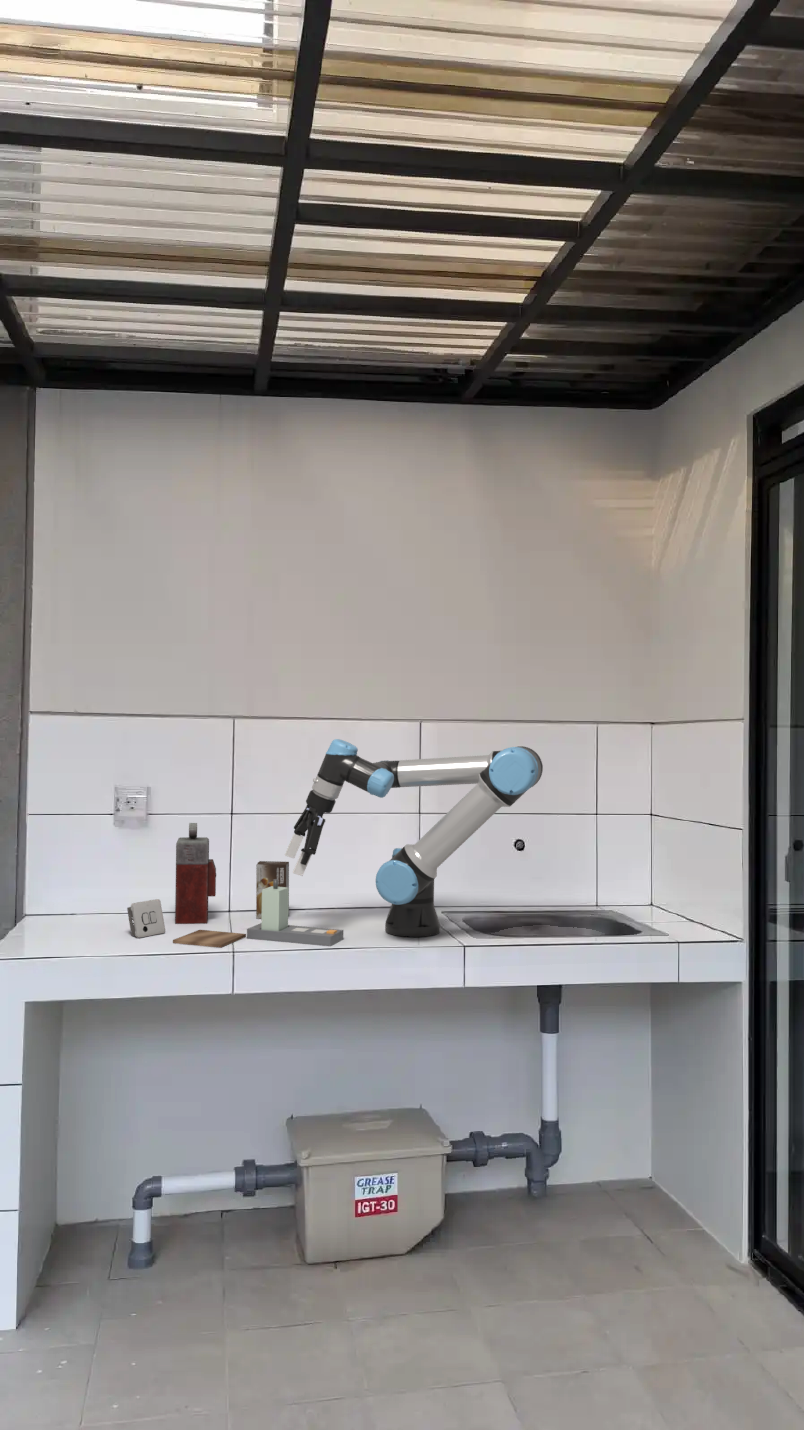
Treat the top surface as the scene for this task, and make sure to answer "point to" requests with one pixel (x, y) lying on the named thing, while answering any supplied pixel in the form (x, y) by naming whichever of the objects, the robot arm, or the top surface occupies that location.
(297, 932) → the power strip
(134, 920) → the electrical switch
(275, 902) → the pale green block
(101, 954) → the top surface
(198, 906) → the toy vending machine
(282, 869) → the coffee box
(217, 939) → the walnut pad
